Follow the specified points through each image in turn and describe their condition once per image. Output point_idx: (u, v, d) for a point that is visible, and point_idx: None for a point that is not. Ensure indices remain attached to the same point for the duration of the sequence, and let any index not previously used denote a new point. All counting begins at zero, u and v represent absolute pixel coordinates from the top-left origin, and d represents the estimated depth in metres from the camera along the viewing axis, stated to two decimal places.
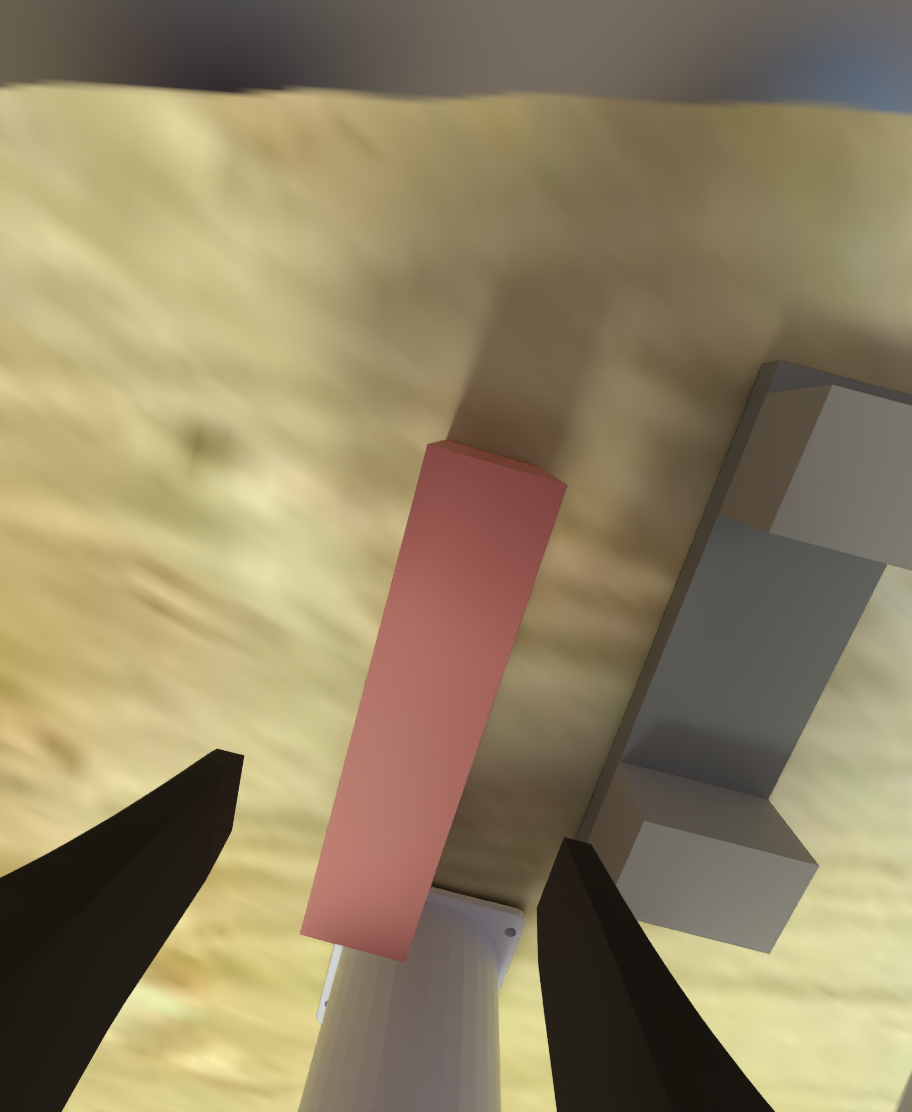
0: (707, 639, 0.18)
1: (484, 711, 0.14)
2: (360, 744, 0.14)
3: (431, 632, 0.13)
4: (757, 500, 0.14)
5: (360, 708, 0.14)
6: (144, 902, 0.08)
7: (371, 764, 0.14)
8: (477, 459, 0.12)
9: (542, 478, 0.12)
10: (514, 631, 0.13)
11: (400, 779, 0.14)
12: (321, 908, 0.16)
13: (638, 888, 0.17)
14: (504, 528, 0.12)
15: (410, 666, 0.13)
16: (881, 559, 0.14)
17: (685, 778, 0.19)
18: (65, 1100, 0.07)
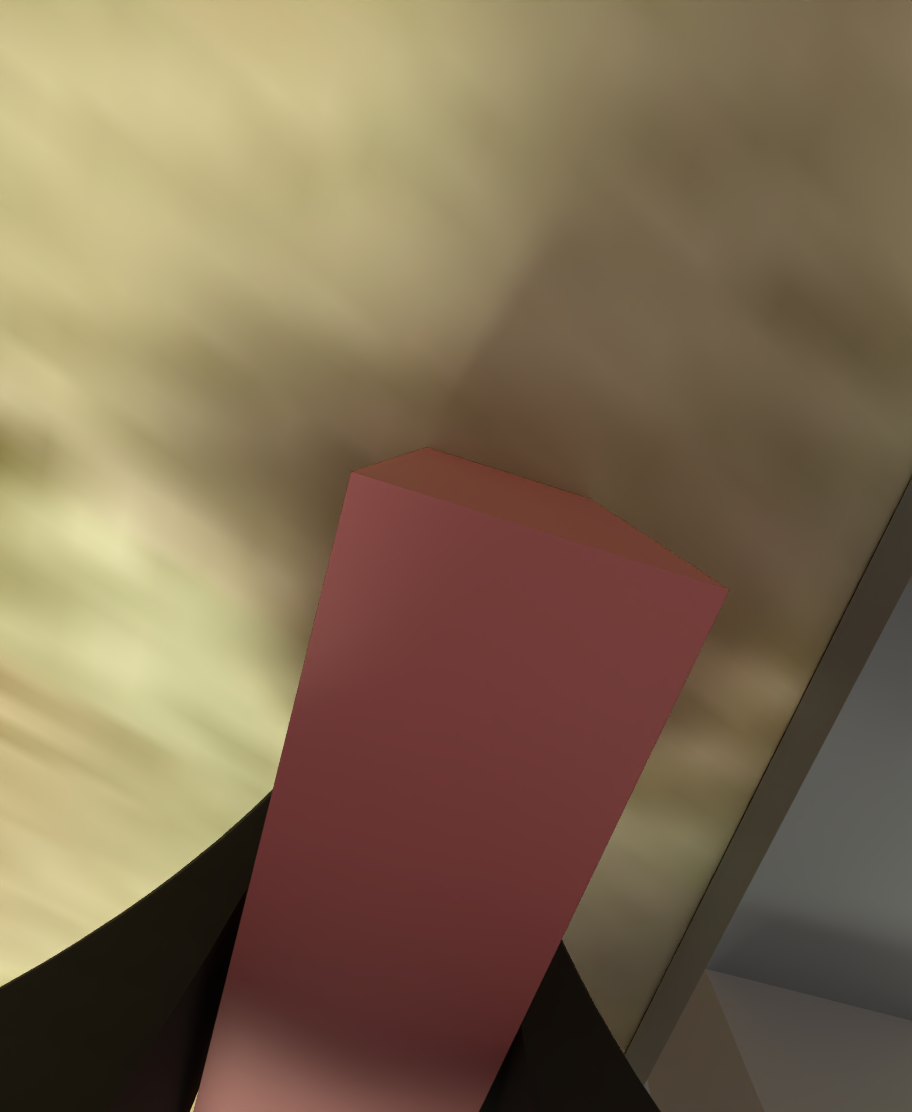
0: (868, 788, 0.10)
1: (488, 1063, 0.06)
2: (220, 1106, 0.06)
3: (367, 908, 0.06)
4: None
5: (214, 1042, 0.06)
6: None
7: None
8: (487, 516, 0.04)
9: (662, 571, 0.04)
10: (563, 917, 0.05)
11: None
12: None
13: None
14: (550, 691, 0.05)
15: (319, 971, 0.06)
16: None
17: (812, 996, 0.12)
18: None
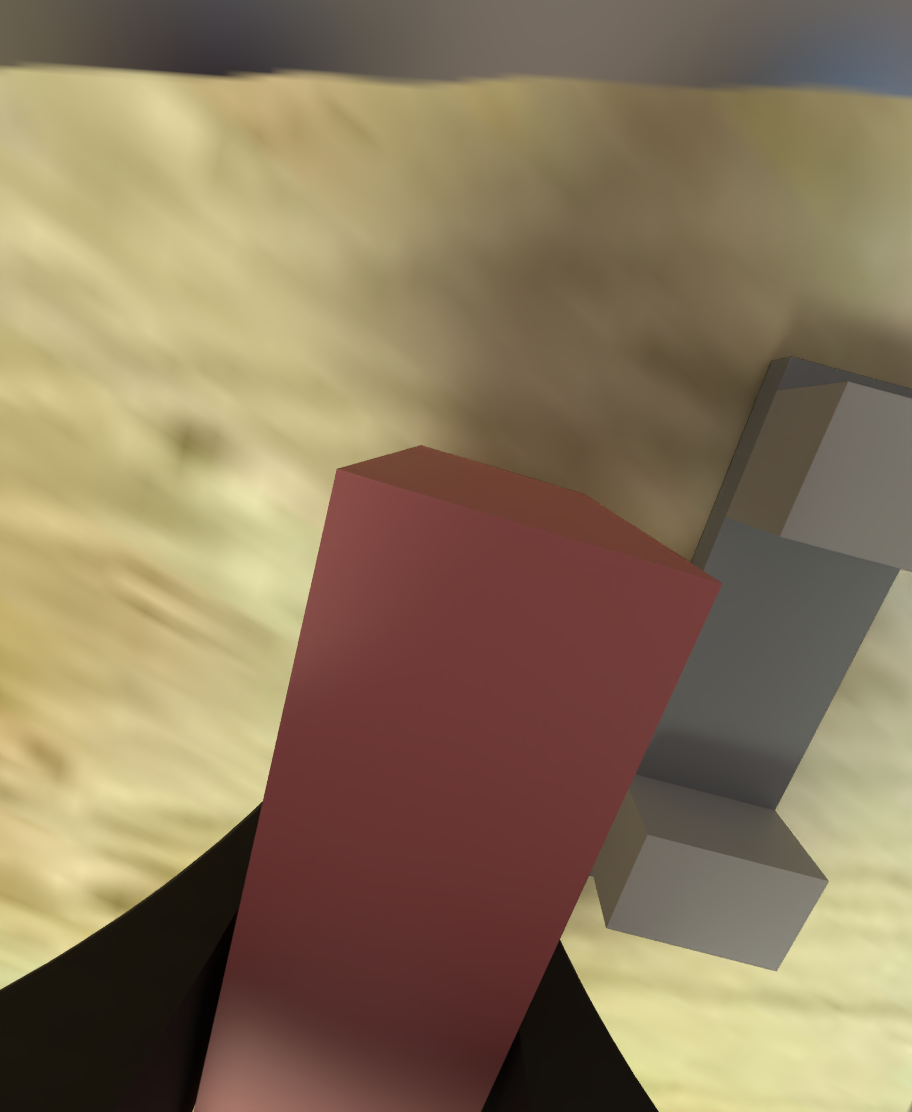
0: (713, 646, 0.17)
1: (487, 1065, 0.06)
2: (218, 1111, 0.06)
3: (363, 910, 0.05)
4: (767, 502, 0.14)
5: (212, 1047, 0.06)
6: None
7: None
8: (475, 511, 0.04)
9: (654, 565, 0.04)
10: (560, 917, 0.05)
11: None
12: None
13: (641, 903, 0.16)
14: (544, 689, 0.05)
15: (316, 975, 0.06)
16: (897, 564, 0.13)
17: (689, 788, 0.18)
18: None
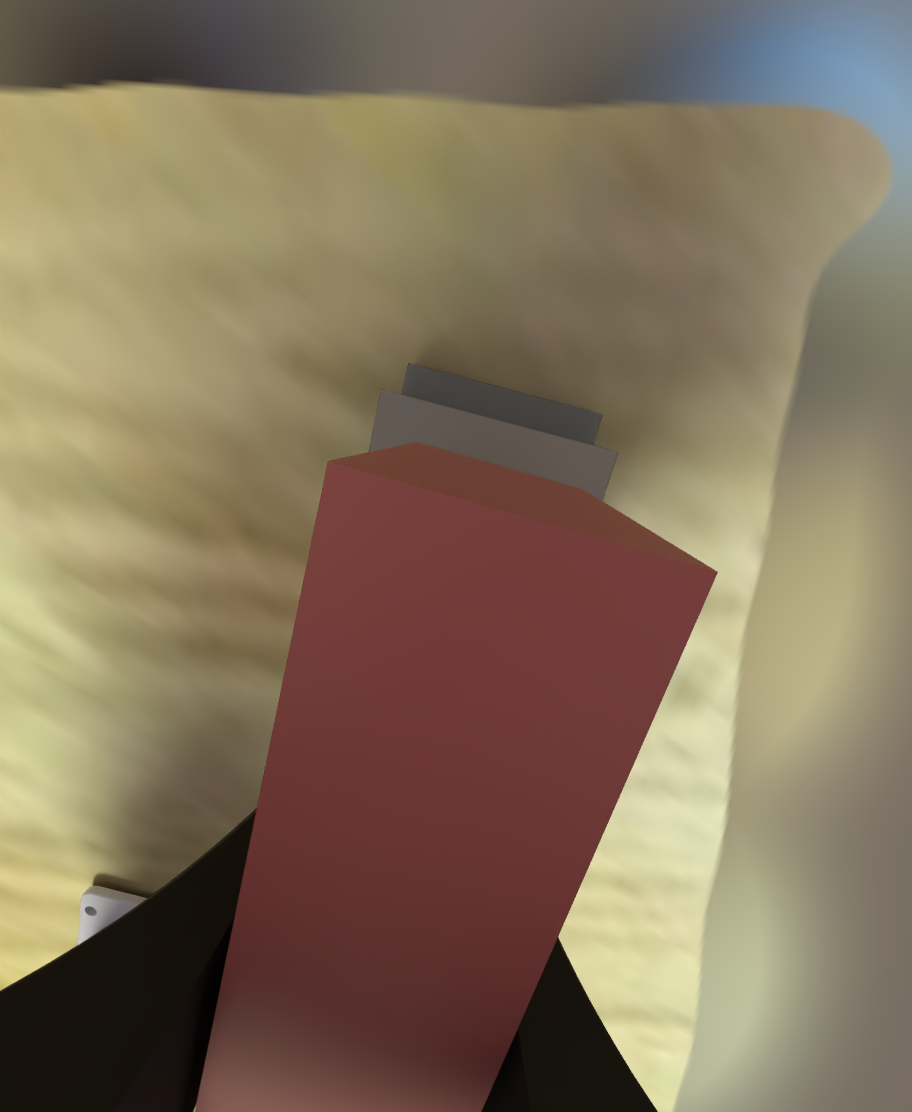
0: None
1: (489, 1061, 0.06)
2: (219, 1111, 0.06)
3: (361, 907, 0.05)
4: None
5: (212, 1046, 0.06)
6: None
7: None
8: (467, 502, 0.04)
9: (648, 554, 0.04)
10: (560, 911, 0.05)
11: None
12: None
13: None
14: (540, 681, 0.05)
15: (316, 973, 0.06)
16: None
17: None
18: None
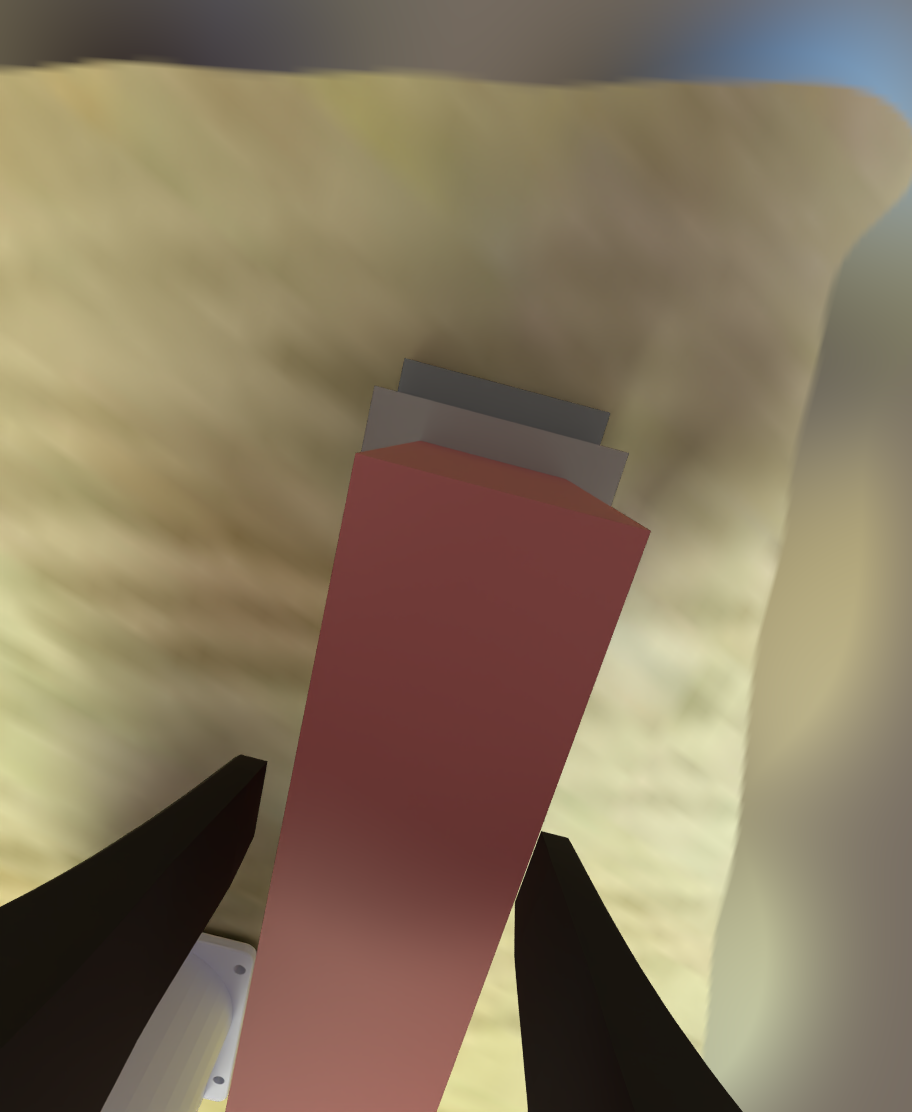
0: None
1: (489, 940, 0.07)
2: (269, 990, 0.08)
3: (384, 809, 0.07)
4: None
5: (263, 933, 0.08)
6: (175, 910, 0.08)
7: (292, 1020, 0.08)
8: (461, 482, 0.06)
9: (598, 518, 0.06)
10: (541, 807, 0.07)
11: (344, 1045, 0.08)
12: None
13: None
14: (519, 619, 0.06)
15: (348, 866, 0.07)
16: None
17: None
18: (99, 1109, 0.07)
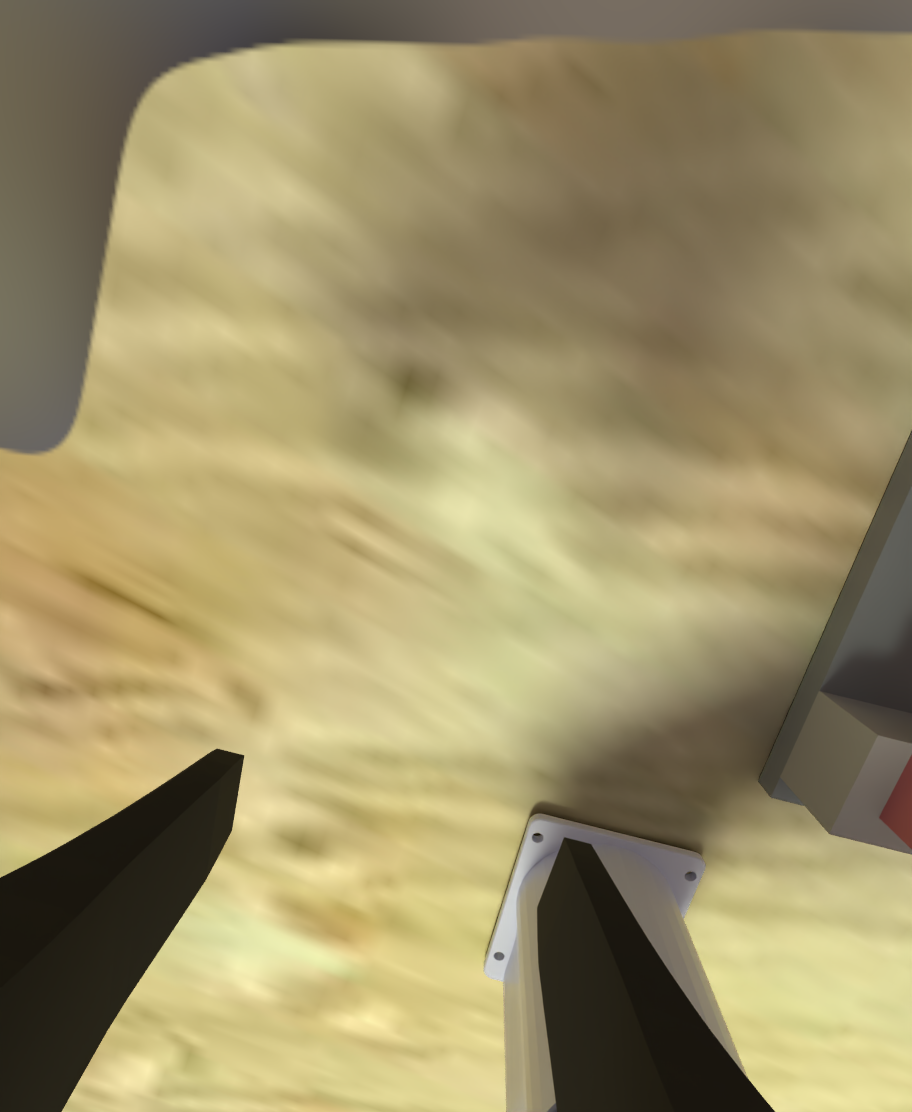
0: None
1: None
2: None
3: None
4: None
5: None
6: (144, 902, 0.08)
7: None
8: None
9: None
10: None
11: None
12: None
13: (866, 807, 0.17)
14: None
15: None
16: None
17: (886, 707, 0.19)
18: (64, 1100, 0.07)
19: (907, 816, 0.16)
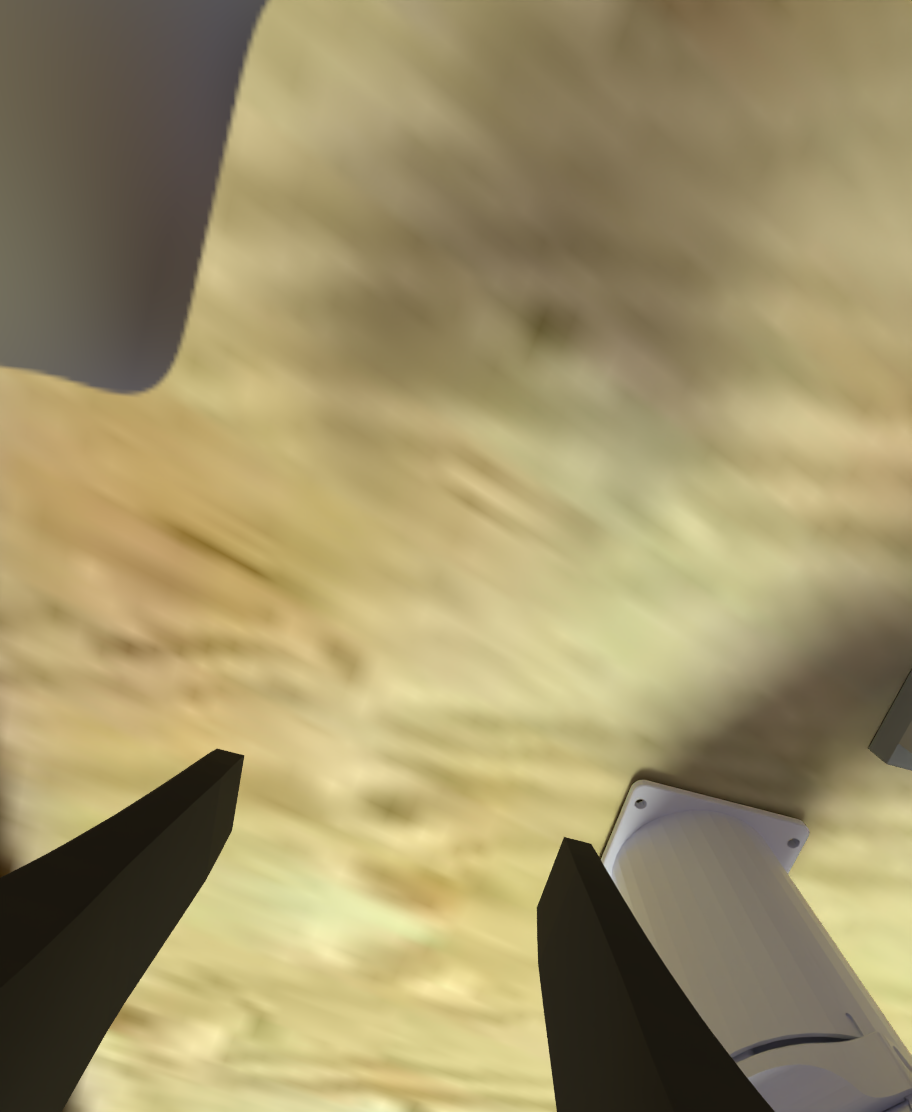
0: None
1: None
2: None
3: None
4: None
5: None
6: (144, 902, 0.08)
7: None
8: None
9: None
10: None
11: None
12: None
13: None
14: None
15: None
16: None
17: None
18: (64, 1100, 0.07)
19: None
